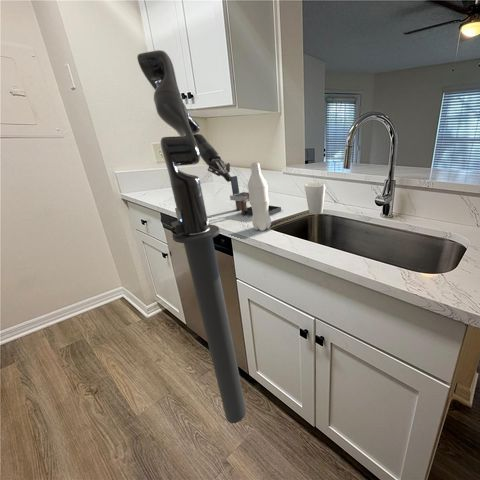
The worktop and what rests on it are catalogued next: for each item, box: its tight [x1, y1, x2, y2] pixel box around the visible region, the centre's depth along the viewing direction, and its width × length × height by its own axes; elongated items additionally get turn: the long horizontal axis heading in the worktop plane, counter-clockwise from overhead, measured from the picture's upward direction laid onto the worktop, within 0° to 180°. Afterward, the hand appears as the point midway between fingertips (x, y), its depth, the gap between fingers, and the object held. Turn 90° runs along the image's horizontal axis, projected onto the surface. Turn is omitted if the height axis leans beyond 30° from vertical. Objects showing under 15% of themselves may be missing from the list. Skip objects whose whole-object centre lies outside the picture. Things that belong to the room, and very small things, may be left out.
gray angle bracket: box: [229, 175, 250, 204], centre depth 124 cm, size 12×12×11 cm
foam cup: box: [304, 182, 326, 216], centre depth 119 cm, size 10×9×13 cm
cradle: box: [234, 200, 248, 216], centre depth 126 cm, size 10×15×7 cm
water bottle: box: [247, 162, 272, 232], centre depth 98 cm, size 7×7×25 cm
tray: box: [240, 205, 282, 217], centre depth 123 cm, size 14×12×2 cm
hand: (230, 180), depth 126 cm, fingers closed
